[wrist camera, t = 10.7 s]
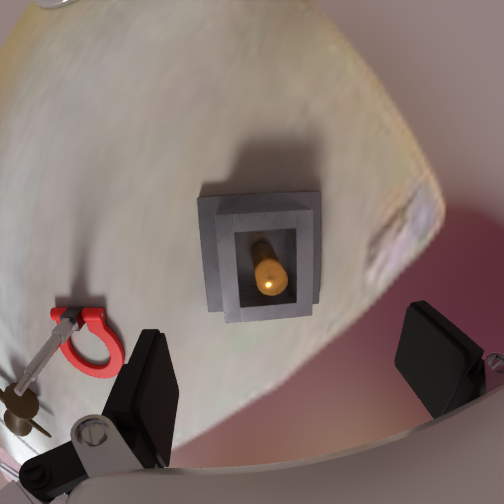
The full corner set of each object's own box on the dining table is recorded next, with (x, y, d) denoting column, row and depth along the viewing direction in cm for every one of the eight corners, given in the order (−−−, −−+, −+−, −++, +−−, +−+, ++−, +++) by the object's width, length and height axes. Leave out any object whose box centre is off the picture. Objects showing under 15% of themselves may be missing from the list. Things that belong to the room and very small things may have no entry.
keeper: (198, 197, 23) (184, 207, 17) (317, 191, 24) (348, 199, 17) (209, 307, 26) (203, 350, 19) (315, 298, 27) (340, 337, 20)
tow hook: (134, 374, 28) (111, 303, 25) (103, 466, 16) (51, 394, 13) (75, 369, 28) (49, 304, 25) (34, 446, 16) (-17, 375, 13)
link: (217, 208, 23) (214, 215, 19) (299, 203, 23) (312, 209, 19) (225, 300, 25) (225, 323, 21) (300, 294, 25) (312, 315, 21)
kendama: (-28, 328, 26) (63, 413, 30) (-28, 360, 28) (54, 434, 32) (-50, 346, 20) (47, 440, 24) (-45, 377, 22) (41, 457, 26)
